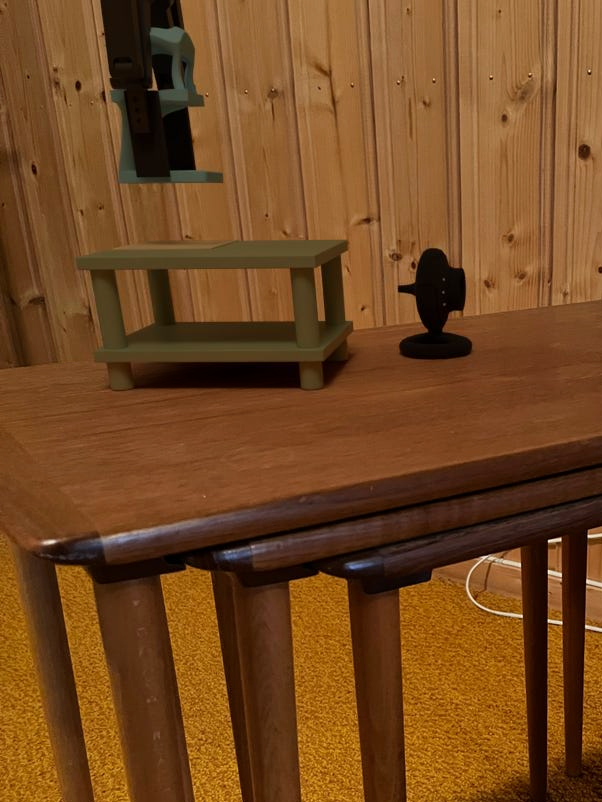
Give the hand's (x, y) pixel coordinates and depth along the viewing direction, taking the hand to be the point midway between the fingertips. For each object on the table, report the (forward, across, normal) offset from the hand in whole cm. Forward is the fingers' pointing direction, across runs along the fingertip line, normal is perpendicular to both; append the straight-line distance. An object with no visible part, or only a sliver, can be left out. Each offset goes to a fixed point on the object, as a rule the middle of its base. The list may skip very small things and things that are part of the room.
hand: (168, 175), depth 87 cm
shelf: (+17, -3, -5) cm, 18 cm away
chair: (+1, 0, 0) cm, 1 cm away
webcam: (+17, +7, -23) cm, 29 cm away
